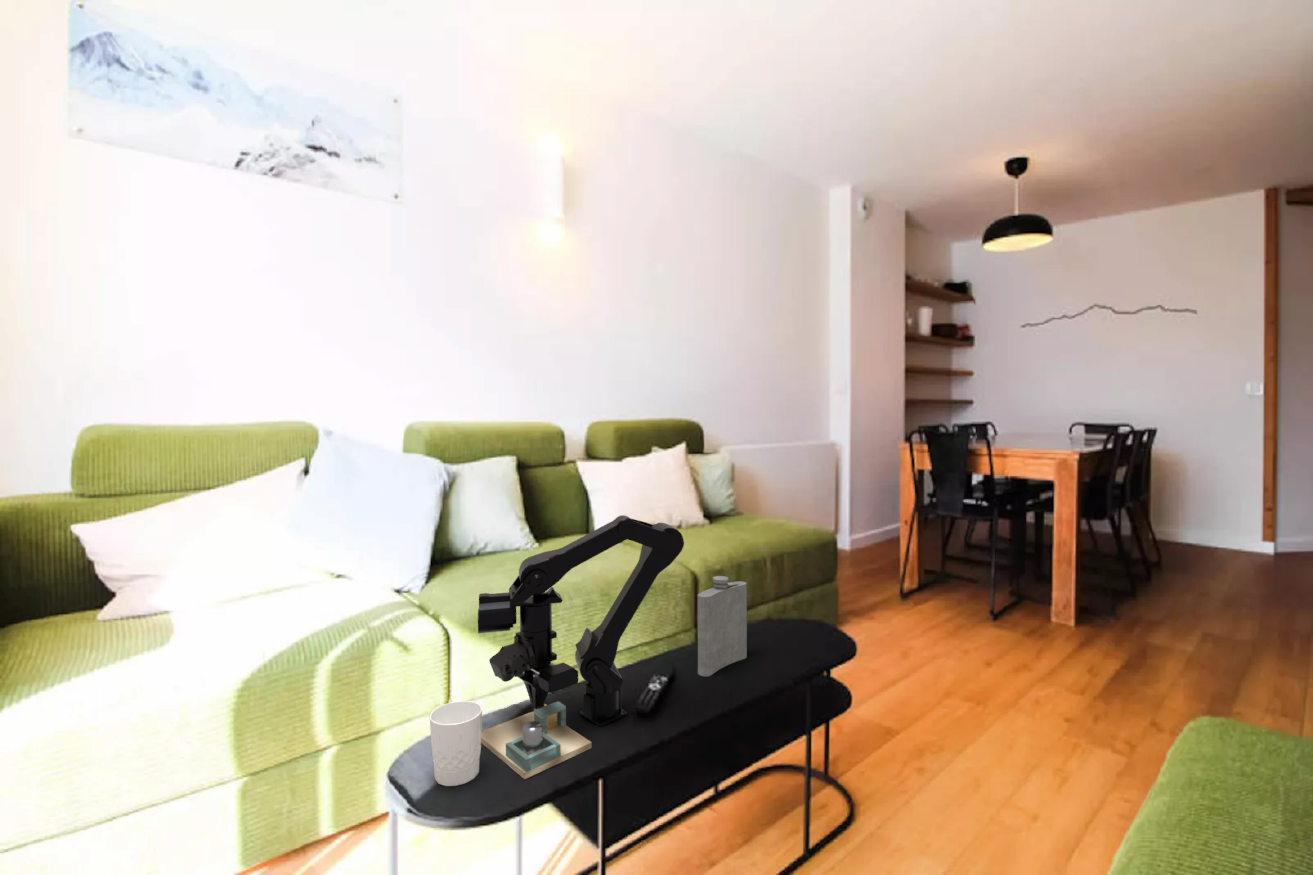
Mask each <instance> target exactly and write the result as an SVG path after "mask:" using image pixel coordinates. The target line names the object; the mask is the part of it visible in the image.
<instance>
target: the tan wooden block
mask: <svg viewBox="0 0 1313 875" xmlns="http://www.w3.org/2000/svg"><path fill="white" fill-rule="evenodd" d="M547 705H548V704H547V703H544V704H543V705H541V706H539V707H536V708H534V710H536V709H539V708H541V707H544V706H547ZM534 710H533V711H534ZM557 726H558V712H557V713H555V714H552V715H550V716H547V731H548V730H550V729H553V728H555V727H557Z"/></svg>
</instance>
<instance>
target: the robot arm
mask: <svg viewBox="0 0 1313 875" xmlns="http://www.w3.org/2000/svg"><path fill="white" fill-rule="evenodd" d="M626 540H627V541H632V542H634V543H638V544H639V545H641V549H640V555H639V559H638V561H637V564H635V567H634V568H633V570H632V571H631V573H630V575H629V577H628V578H627V580H626V581H625V583H624V585H623V587H622V588H621V590H620V592H618V593H619V594H618V595H617V596H616V598H615V600H614V602H613V603H612V605H611V607H610V608H609V609H608V611H607V614H606V615H605V617H604V619H603V620H602V622H601V623H600V625H599V626H597V627H596V628H595V629H593V631H592V630H591V629H589V627H586V628H585V630H584V632H583V634H582V636H581V638H580V640H579V641H578V642H577V643H575V648H576V650H575V652H574V653H575V654H574V658H575V662H576V666H577V668H578V670H577V669H576V668H574V667H573V666H571V665H569V664H568V663H565V662H564V661H563V662H560V663H554V661H557V660H558V654H557V653H556V652H554V651H553V639H556V638H557V631H556V630H553V625H552V624H553V621H552V619H553V617H552V614H553V612H552V608H553V607H552V605H553V604H561V603H562V602H563V599H562V596H561V594H560V593H559V592H557V591H556V590H555V588H554V586H555V585H556V584H558V582H560V581H561V580H562V579H563V578H564V576H566V575H567V573H568V572H570V571H571V570H572V569H574V568H576V567H578V566H579V565H581V564H583V563H585V562H587V561H589V560H591V559H592V558H594V557H596V556H598V555H600V554H602V553H604V552H605V551H608V550H609V549H611V548H613V547H615V546H616V545H619V544H620V543H622V542H625V541H626ZM684 546H685V541H684V537H683V535H682V533H681V531H679V530H678V529H676V528H675V527H673V526H671V525H669V524H668V523H665V522H657V523H650V522H649V523H648V522H646V521H642V520H638V519H634V518H631V517H630V516H628V515H618V516H617V517H616V518H614V519H613V520H612V521H610V522H608V523H606V524H604V525H602V526H600V527H599V528H597V529H595V530H593V531H590V532H589V533H587V534H585V535H584V536H582V537H579V538H577V539H576V540H574V541H571V542H570V543H568V544H566V545H564V546H563V547H560V548H557V549H552V550H547V551H544V552H541V553H538V554H535V555H531V556H528V557H527V558H525V559H524V560H523V561H522V562H520V566H519V568H518V575H517V577H516V578H515V580H514V581H513V582H512V584H511V585H510V587H509V588H508V591H507V592H499V593H498V592H496V593H487V592H484V593H479V594H478V609H477V633H478V634H487V633H496V632H507V631H508V632H510V631H511V629H513V628H514V625H517V607H519V631H518V632H515V635H514V637H513V639H514V640H513V643H510V644H507V645H504V646H502V647H500V649H499V651H498V652H497V653H495V654H494V655H492V656H491V657H490V658H489V659H488V661H489V664H490V666H491V669H492V671H493V674H494V676H495V677H497V678H499V679H501V681H503V682H509V681H511V680H513V679H514V677H515V678H518V679H519V680H521V681H523V683H524V685H525V688H526V692H527V695H528V697H529V700H530V705H531V707H532V709H533V711H534V708H536V707H539V706H541V705H544V704H545V701H546V699H547V697H548V695H549V693H550V694H551V693H552V694H553V693H554V694H555V693H556V692H558V691H562V690H564V689H567V688H570V687H573V686H575V685H578V683H579V673H580V676H581V677H582V679H584V680H585V681H586V682H588V683H586V684H584V690H585V691H584V693H583V709H582V710H580V714H579V715H581V716H583V717H585V718H586V719H587V720H590V721H591V722H592V723H594V724H596V725H597V726H600V727H602V726H604V725H607V724H608V723H611V722H613V721H615V720H618V719H621V718H622V717H625V716H627V711H626V710H625V709H623V708H622V684H623V678H622V676H621V674H620V672H619V670H618V667H617V666H616V664H615V661H616V660H615V659H616V656H617V653H618V648H619V643H620V640H621V637H622V636H623V635H624V632H625V631H626V629H627V628H628V626H629V624H630V623H631V621H632V619H633V618H634V615H635V614H636V612H637V610H638V609H639V608H640V605H641V604H642V602H643V601H644V599H645V597H646V595H647V594H648V592H649V590H650V589H651V586H653V583H654V582H655V580H656V578H657V577H658V576H659V574H660V573H661V572H663V571H664V570H665V569H666V568H668V567H669V566H670V565H672V563H673V562H674V561H675V560H676V559H677V557H678V556H679V555H680V554H681V552H682V551H683V549H684Z"/></svg>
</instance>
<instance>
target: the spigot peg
mask: <svg viewBox="0 0 1313 875" xmlns="http://www.w3.org/2000/svg"><path fill="white" fill-rule="evenodd" d="M542 749H543V727H542V723H540V722H537V721H532V722H528V723H526V724H524V725H523V752H524V753H525V754H526V755H531V754H533V753H535V752H538V751H540V750H542Z"/></svg>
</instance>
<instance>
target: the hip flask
mask: <svg viewBox="0 0 1313 875" xmlns="http://www.w3.org/2000/svg"><path fill="white" fill-rule="evenodd" d="M712 582H713V587H711V588H709V589H706V590H703V591H702V592H701V591H700V592H699V593H698V594H697V675H698V676H701V677H711V676H712V675H714V674H715V673H716V672H718V671H719V670H721V669H723V668H725V667H727V666H729V665H731V664H734V663H736V662H739V661H742V660H745V659H747V656H748V655H747V653H748V652H747V650H748V649H747V647H748V646H747V642H748V640H747V638H748V637H747V636H748V633H747V632H748V631H747V630H748V627H747V624H748V623H747V622H748V621H747V620H748V619H747V618H748V617H747V616H748V615H747V613H748V612H747V610H748V609H747V606H748V605H747V601H748V600H747V599H748V598H747V596H748V595H747V594H748V593H747V592H748V590H747V589H748V587H747V585H748V584H747V582H745V581H739V580H738V581H730V582H729V577H728V576H726V575H725V576H724V575H715V576H713V577H712Z"/></svg>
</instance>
